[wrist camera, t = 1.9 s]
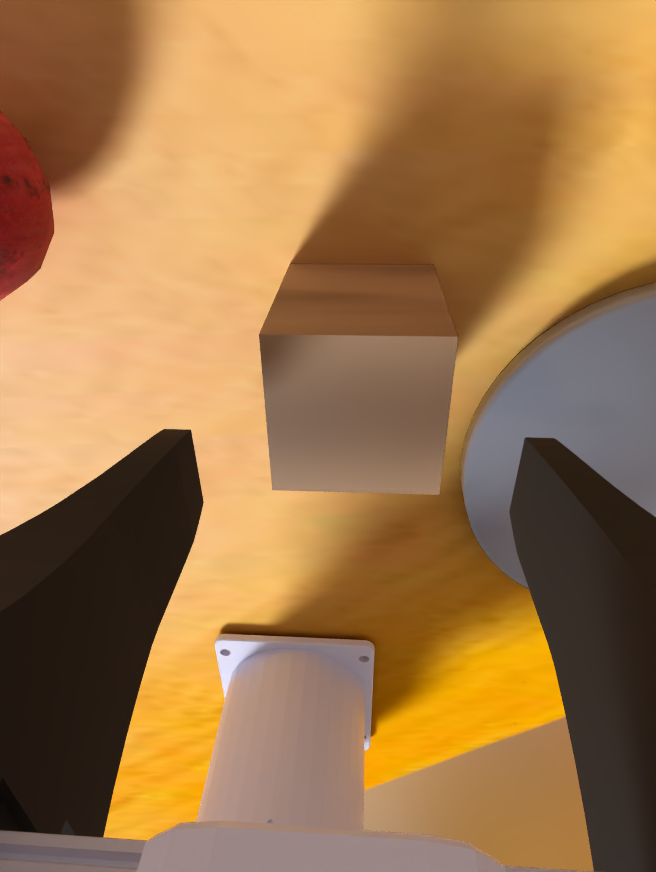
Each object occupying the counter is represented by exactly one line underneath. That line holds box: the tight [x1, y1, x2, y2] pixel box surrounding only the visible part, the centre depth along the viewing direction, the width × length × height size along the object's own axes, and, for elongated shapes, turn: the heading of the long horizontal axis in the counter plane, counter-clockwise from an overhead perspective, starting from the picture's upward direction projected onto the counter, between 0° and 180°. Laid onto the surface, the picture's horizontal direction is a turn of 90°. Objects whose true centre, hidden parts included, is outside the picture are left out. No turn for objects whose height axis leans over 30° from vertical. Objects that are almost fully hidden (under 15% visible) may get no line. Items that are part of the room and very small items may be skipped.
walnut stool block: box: [259, 264, 458, 495], centre depth 17 cm, size 5×5×6 cm
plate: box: [460, 282, 656, 589], centre depth 21 cm, size 14×14×1 cm
